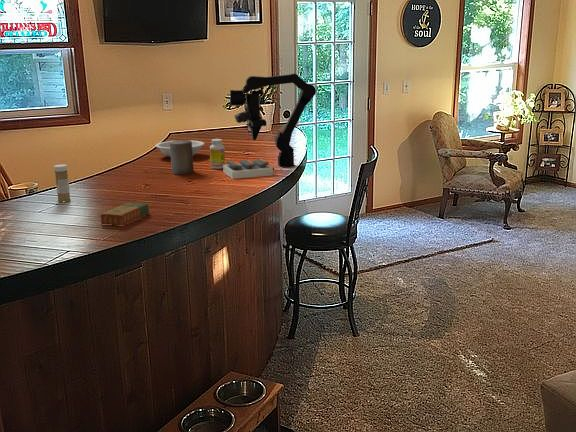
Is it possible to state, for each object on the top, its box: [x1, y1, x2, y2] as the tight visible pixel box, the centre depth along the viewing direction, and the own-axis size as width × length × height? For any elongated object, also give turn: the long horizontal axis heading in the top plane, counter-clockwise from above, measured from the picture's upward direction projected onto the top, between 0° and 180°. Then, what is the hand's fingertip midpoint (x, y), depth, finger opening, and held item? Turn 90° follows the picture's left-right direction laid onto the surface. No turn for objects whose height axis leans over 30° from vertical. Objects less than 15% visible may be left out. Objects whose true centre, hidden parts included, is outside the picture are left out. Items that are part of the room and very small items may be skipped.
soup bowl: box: [155, 139, 205, 158], centre depth 317 cm, size 24×24×7 cm
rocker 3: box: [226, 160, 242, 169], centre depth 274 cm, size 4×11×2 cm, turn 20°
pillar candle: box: [170, 139, 195, 176], centre depth 279 cm, size 10×10×15 cm
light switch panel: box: [222, 163, 275, 180], centre depth 277 cm, size 21×16×3 cm
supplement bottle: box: [209, 138, 226, 170], centre depth 288 cm, size 7×7×13 cm
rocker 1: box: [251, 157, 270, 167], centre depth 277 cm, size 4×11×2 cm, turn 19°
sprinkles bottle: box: [53, 164, 71, 203], centre depth 233 cm, size 5×5×13 cm
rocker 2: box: [239, 159, 256, 168], centre depth 275 cm, size 4×11×2 cm, turn 19°
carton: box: [100, 201, 150, 225], centre depth 209 cm, size 8×16×4 cm, turn 161°
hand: (254, 140), depth 286 cm, fingers closed
